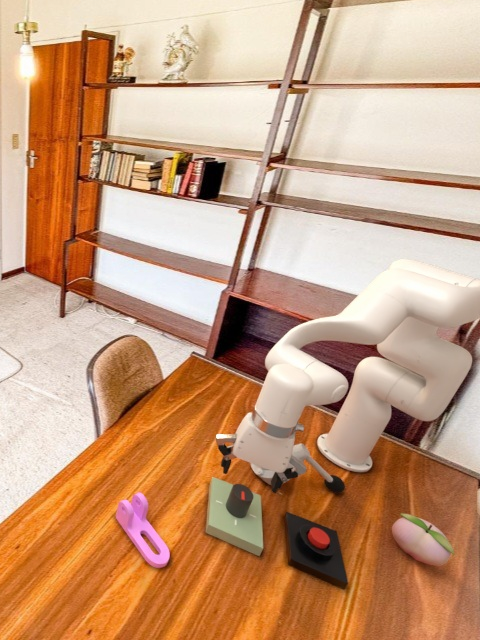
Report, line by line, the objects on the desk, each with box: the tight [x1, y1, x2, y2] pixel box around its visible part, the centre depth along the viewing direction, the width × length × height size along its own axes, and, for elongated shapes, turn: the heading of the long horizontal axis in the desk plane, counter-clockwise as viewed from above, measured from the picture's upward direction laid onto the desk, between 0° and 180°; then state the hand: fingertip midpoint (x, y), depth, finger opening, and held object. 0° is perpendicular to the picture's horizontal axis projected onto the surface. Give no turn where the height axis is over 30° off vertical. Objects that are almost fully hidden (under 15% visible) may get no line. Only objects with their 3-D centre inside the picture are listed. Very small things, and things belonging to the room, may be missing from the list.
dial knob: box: [226, 483, 254, 518], centre depth 91 cm, size 4×4×6 cm
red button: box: [308, 528, 330, 549], centre depth 86 cm, size 4×4×2 cm
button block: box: [283, 511, 349, 590], centre depth 87 cm, size 12×10×4 cm
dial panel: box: [205, 476, 264, 557], centre depth 93 cm, size 14×11×3 cm
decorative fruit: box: [391, 512, 456, 567], centre depth 86 cm, size 9×8×10 cm
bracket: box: [115, 491, 171, 569], centre depth 87 cm, size 13×6×7 cm, turn 26°
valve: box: [249, 443, 346, 494], centre depth 102 cm, size 10×20×15 cm
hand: (248, 478), depth 88 cm, fingers open, 9 cm apart
